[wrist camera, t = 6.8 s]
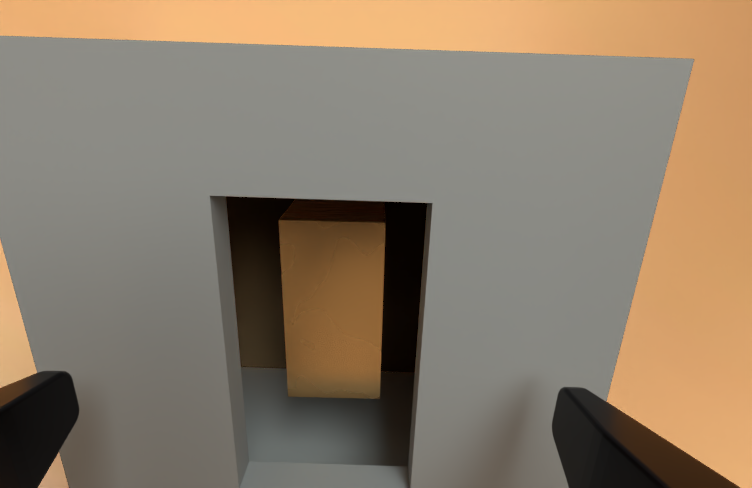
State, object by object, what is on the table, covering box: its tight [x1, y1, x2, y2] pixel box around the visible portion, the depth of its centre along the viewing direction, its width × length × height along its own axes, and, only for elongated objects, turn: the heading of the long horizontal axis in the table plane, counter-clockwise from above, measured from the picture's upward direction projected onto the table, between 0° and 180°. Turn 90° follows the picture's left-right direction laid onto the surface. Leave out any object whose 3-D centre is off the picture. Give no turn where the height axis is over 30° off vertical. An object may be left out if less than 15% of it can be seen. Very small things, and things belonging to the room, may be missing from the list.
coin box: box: [0, 36, 694, 488], centre depth 12 cm, size 12×12×7 cm
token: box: [279, 199, 386, 399], centre depth 13 cm, size 5×2×5 cm, turn 178°
